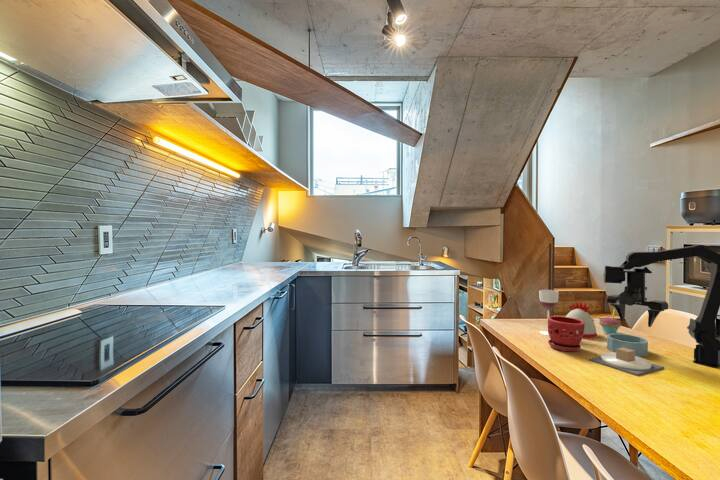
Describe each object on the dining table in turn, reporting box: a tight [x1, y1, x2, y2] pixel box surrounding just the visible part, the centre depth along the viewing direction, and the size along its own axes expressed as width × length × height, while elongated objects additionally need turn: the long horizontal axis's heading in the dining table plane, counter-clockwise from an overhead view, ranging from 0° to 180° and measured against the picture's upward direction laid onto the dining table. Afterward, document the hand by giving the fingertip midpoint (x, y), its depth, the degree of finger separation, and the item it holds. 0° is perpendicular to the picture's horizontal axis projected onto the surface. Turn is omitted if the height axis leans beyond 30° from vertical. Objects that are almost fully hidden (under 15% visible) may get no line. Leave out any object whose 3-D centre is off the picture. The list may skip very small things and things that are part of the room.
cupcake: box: [598, 307, 622, 334], centre depth 170 cm, size 9×8×12 cm
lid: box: [600, 347, 652, 370], centre depth 129 cm, size 15×15×5 cm
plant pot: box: [547, 315, 585, 352], centre depth 147 cm, size 13×13×12 cm
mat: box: [588, 355, 665, 377], centre depth 129 cm, size 16×16×1 cm
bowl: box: [606, 333, 649, 357], centre depth 144 cm, size 13×13×5 cm
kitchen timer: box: [563, 301, 598, 339], centre depth 168 cm, size 14×14×15 cm
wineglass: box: [538, 289, 560, 336], centre depth 168 cm, size 8×9×20 cm
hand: (635, 324), depth 139 cm, fingers open, 9 cm apart
